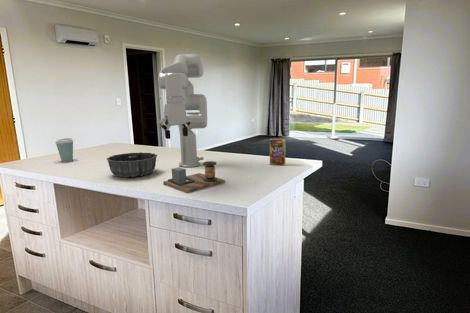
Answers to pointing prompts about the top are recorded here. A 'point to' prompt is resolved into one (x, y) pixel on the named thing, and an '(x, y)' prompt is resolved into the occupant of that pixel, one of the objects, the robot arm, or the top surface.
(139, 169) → the bundt pan
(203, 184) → the winding board
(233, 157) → the top surface
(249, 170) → the top surface
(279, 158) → the candy box
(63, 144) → the disposable coffee cup
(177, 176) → the gray rectangular block
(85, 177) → the top surface
